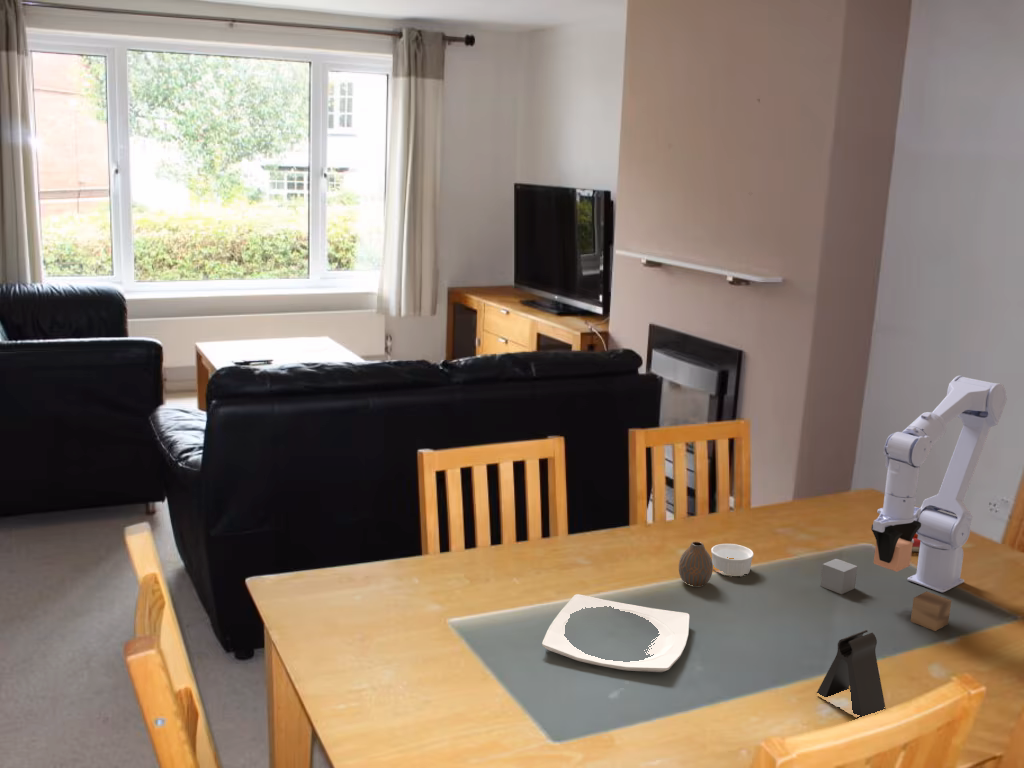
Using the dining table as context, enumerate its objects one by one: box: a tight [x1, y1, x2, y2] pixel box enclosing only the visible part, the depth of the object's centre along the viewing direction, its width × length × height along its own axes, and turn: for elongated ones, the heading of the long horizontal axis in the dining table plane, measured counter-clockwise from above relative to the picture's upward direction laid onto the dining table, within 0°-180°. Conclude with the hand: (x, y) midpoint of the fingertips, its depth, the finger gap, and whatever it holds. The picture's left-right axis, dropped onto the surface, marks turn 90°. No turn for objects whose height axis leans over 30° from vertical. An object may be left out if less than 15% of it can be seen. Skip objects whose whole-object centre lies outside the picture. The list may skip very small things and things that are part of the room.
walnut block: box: [910, 591, 952, 632], centre depth 190 cm, size 5×5×5 cm
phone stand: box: [816, 629, 887, 718], centre depth 160 cm, size 9×6×12 cm, turn 34°
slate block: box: [819, 558, 858, 595], centre depth 205 cm, size 5×5×5 cm
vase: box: [678, 541, 714, 587], centre depth 204 cm, size 7×7×9 cm
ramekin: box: [710, 543, 755, 576], centre depth 212 cm, size 9×9×4 cm
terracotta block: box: [873, 538, 913, 573], centre depth 197 cm, size 5×5×5 cm
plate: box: [541, 593, 690, 673], centre depth 180 cm, size 24×24×3 cm
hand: (892, 557), depth 197 cm, fingers closed on terracotta block, 5 cm apart
